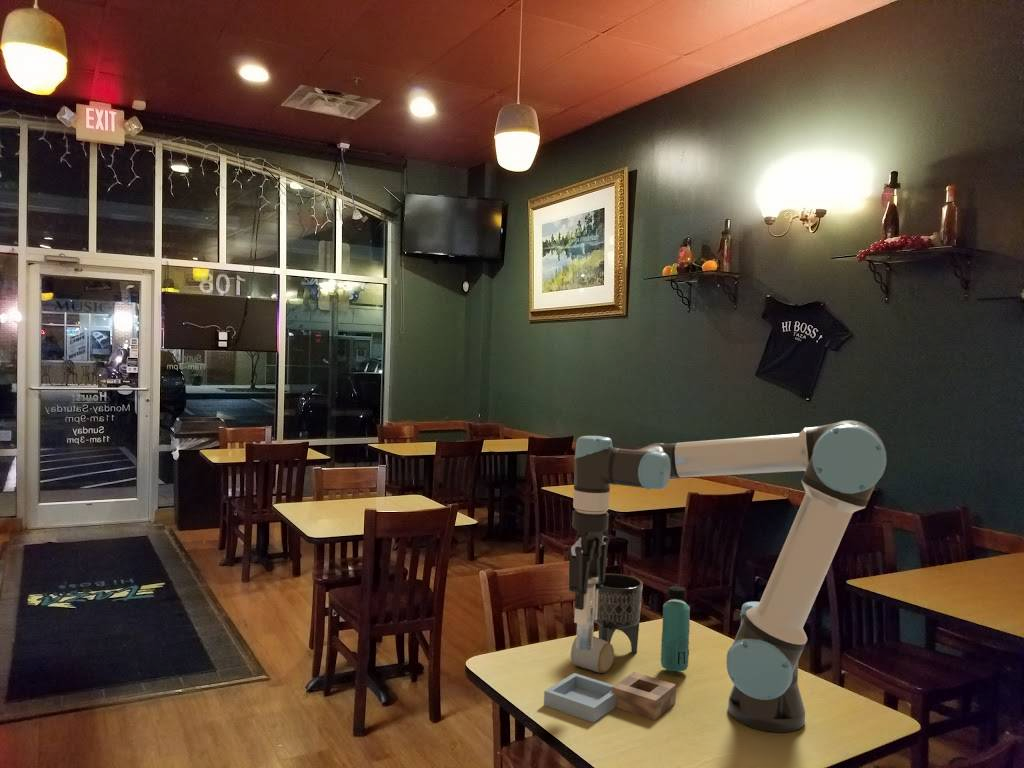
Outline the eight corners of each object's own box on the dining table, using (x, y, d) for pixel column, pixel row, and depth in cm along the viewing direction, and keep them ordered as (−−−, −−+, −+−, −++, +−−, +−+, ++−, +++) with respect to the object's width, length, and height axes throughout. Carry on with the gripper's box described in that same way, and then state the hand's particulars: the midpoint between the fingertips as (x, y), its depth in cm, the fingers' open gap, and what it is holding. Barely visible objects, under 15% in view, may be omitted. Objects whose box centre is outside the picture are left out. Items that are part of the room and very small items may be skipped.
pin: (599, 646, 161) (602, 576, 161) (588, 653, 158) (591, 581, 157) (580, 641, 164) (583, 572, 164) (569, 647, 160) (572, 576, 160)
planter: (627, 666, 182) (630, 592, 181) (578, 653, 189) (581, 582, 188) (647, 649, 193) (650, 579, 192) (601, 637, 200) (603, 570, 199)
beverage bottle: (676, 680, 175) (680, 593, 174) (653, 670, 180) (657, 586, 179) (694, 673, 179) (697, 588, 178) (671, 664, 184) (674, 581, 183)
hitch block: (675, 703, 163) (676, 684, 163) (654, 720, 155) (655, 700, 155) (633, 689, 169) (633, 671, 169) (611, 705, 161) (611, 686, 161)
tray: (622, 702, 163) (622, 688, 162) (593, 722, 153) (594, 708, 153) (573, 686, 170) (574, 672, 169) (543, 705, 160) (544, 690, 160)
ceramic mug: (599, 678, 174) (601, 645, 174) (569, 669, 179) (570, 636, 179) (621, 665, 183) (623, 633, 183) (591, 656, 188) (593, 625, 187)
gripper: (594, 502, 169) (590, 607, 170) (554, 513, 155) (549, 627, 156) (625, 507, 164) (620, 615, 165) (586, 519, 151) (580, 636, 152)
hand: (585, 620), depth 161 cm, fingers closed on pin, 3 cm apart
